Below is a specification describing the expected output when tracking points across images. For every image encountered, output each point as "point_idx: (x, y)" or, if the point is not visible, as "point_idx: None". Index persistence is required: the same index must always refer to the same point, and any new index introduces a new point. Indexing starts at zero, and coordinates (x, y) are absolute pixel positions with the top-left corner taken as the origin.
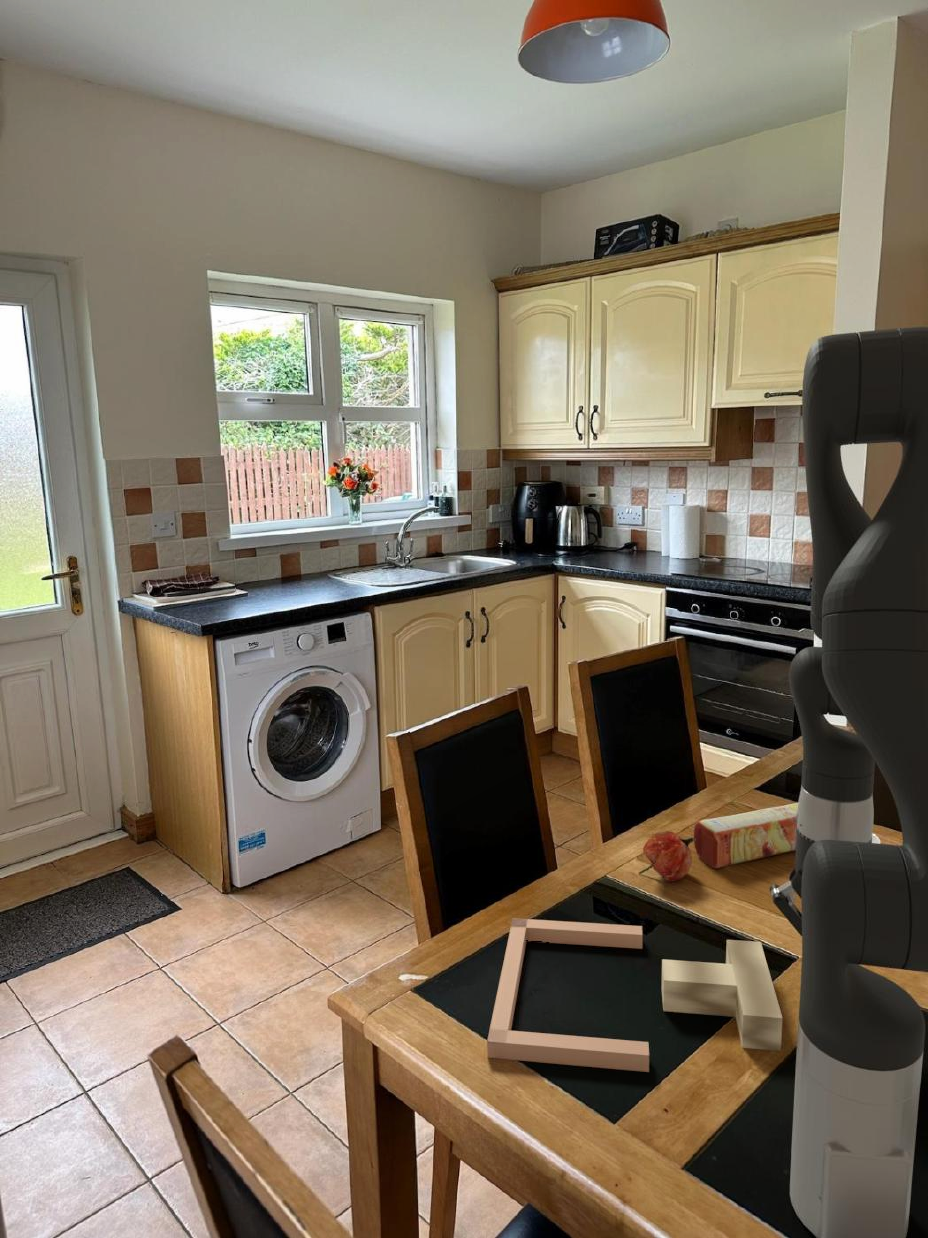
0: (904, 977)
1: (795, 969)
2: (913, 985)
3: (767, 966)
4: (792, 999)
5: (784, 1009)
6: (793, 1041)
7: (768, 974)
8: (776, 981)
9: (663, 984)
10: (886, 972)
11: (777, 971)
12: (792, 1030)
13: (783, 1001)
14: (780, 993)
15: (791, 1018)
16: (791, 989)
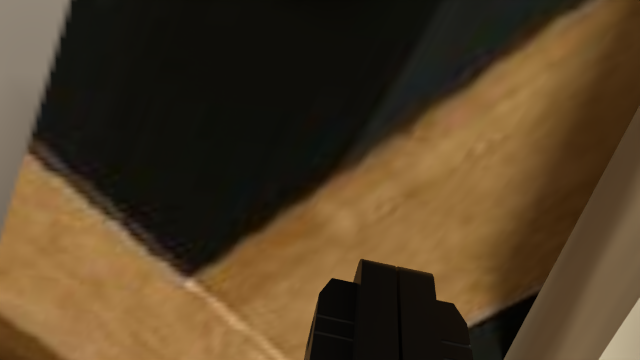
0: (35, 276)
1: None
2: (16, 240)
3: (604, 355)
4: (469, 231)
5: (532, 187)
6: (620, 3)
7: (638, 312)
8: (473, 314)
9: None
10: (85, 302)
11: None
12: (578, 71)
13: (509, 226)
14: (495, 263)
15: (536, 138)
16: (442, 275)
